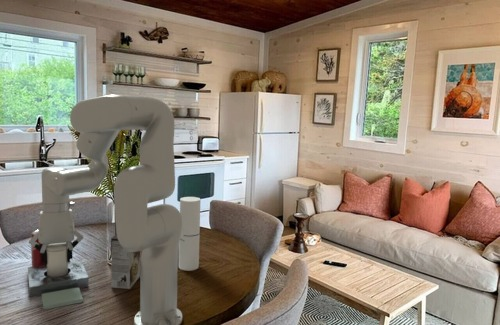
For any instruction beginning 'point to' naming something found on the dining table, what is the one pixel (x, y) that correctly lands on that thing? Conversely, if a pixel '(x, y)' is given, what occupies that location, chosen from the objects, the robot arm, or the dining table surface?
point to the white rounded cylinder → (57, 260)
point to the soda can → (36, 253)
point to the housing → (56, 279)
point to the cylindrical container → (189, 233)
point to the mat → (61, 298)
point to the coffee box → (123, 265)
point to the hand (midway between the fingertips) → (57, 261)
